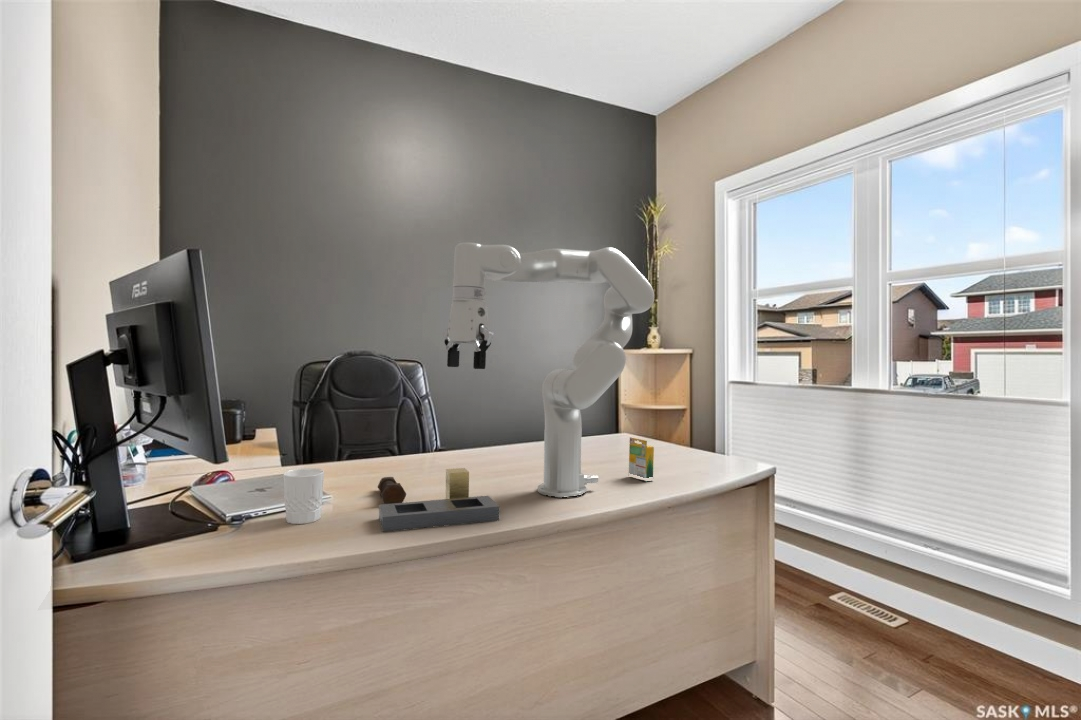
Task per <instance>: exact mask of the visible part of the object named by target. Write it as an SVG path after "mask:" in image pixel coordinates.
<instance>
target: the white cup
mask: <svg viewBox="0 0 1081 720" xmlns="http://www.w3.org/2000/svg"><path fill="white" fill-rule="evenodd" d="M324 475H325V470H324V469H321V468H313V467H312V468H311V467H308V468H307V467H305V468H295V469H291V470H287V471H285V472H283V475H282V476H283V477H282V478H283V479H282V480H283V496H284V498H283V499H284V508H285V521H286V522H287V523H288V524H291V525H304V524H311V523H314V522H316V521H319V520H320V519H321V517H322V505H323V495H324V479H325V476H324Z"/></svg>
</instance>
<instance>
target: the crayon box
mask: <svg viewBox="0 0 1081 720" xmlns="http://www.w3.org/2000/svg"><path fill="white" fill-rule="evenodd" d="M637 442H639V443H637ZM640 442H641V443H640ZM647 443H648V440H645V439H640V438H635V437H629V448H628V449H629V450H628V451H629V453H628V456H629V458H628V474H629V473H630V474H633V475H637V476H640V477H643V478H649V477H653V478H654V459H655V457H654V453H655V447H654V446H651V445H648V444H647Z"/></svg>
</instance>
